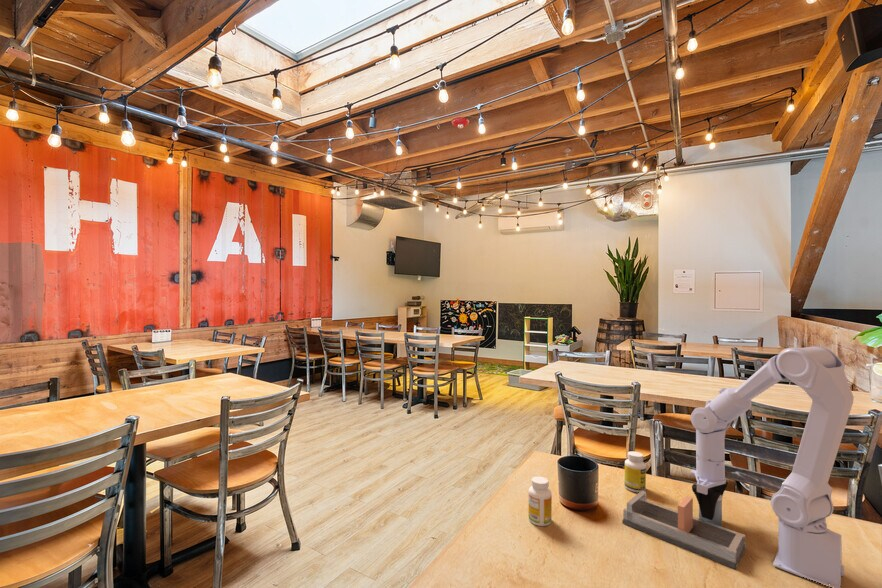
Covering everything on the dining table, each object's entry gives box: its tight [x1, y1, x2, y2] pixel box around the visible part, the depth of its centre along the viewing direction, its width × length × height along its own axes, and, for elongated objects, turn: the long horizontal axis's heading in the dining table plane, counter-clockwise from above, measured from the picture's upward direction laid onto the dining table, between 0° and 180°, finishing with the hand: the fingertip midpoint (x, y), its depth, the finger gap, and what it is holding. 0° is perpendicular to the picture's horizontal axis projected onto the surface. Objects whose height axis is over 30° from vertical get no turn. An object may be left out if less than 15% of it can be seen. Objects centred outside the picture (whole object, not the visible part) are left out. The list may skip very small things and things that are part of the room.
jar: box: [698, 495, 723, 527], centre depth 96 cm, size 5×5×6 cm
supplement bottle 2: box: [623, 450, 647, 493], centre depth 113 cm, size 5×5×10 cm
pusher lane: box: [621, 491, 747, 570], centre depth 91 cm, size 22×10×5 cm, turn 43°
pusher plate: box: [677, 495, 694, 533], centre depth 90 cm, size 1×6×7 cm, turn 133°
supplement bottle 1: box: [528, 476, 553, 527], centre depth 96 cm, size 5×5×10 cm
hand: (710, 514), depth 96 cm, fingers closed on jar, 5 cm apart
